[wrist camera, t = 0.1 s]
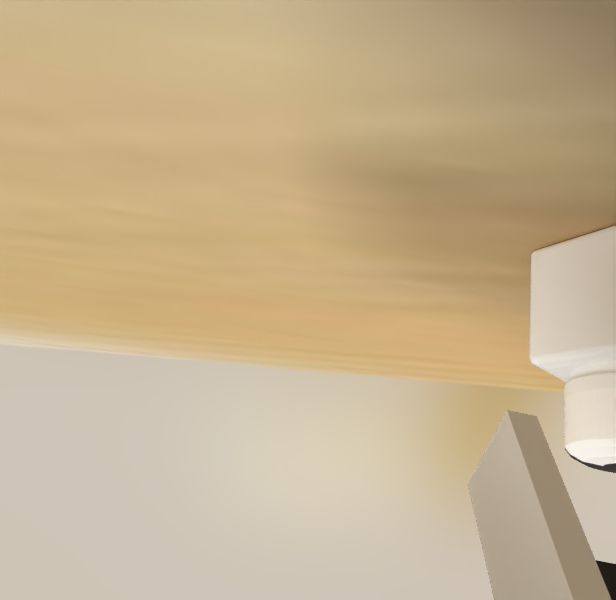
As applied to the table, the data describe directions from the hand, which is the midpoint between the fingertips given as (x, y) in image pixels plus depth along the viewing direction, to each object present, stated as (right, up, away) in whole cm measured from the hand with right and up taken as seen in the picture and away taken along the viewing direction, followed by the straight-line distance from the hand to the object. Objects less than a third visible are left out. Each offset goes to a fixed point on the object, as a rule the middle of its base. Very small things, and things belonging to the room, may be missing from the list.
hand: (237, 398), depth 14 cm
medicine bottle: (+20, +5, +19) cm, 28 cm away
